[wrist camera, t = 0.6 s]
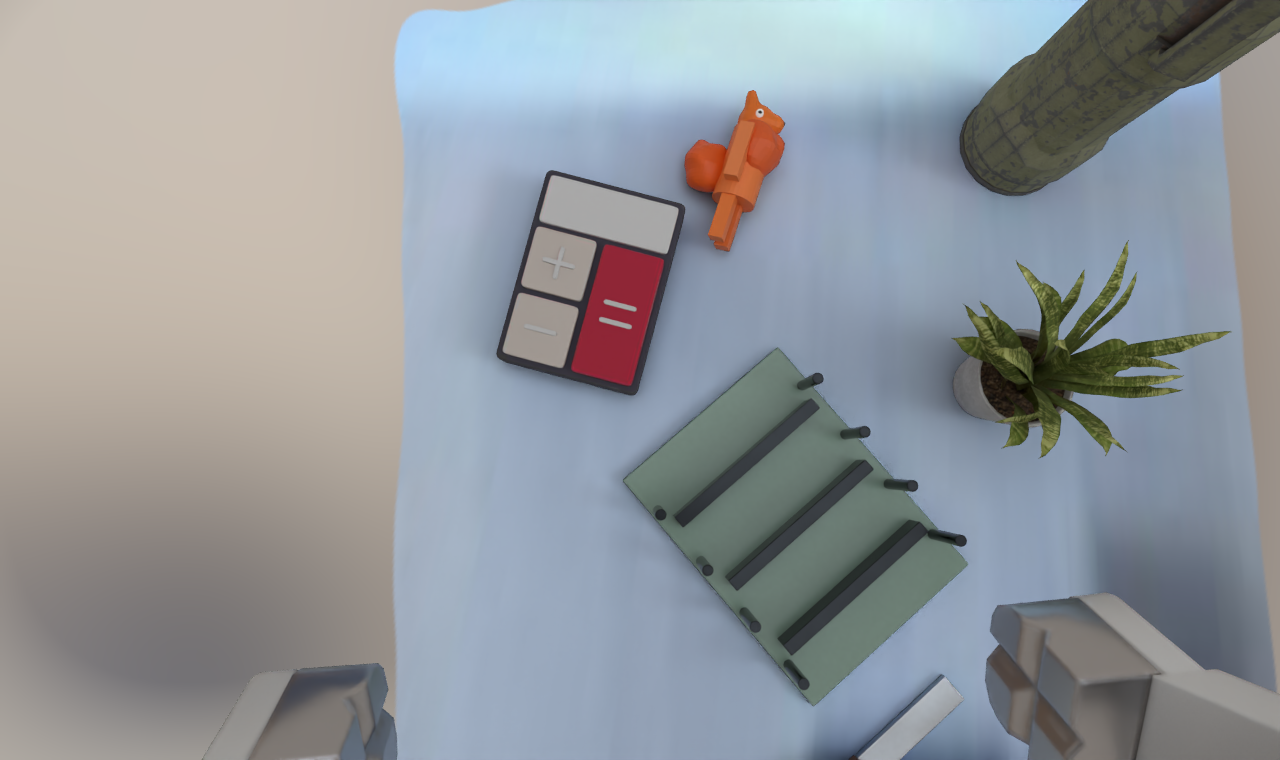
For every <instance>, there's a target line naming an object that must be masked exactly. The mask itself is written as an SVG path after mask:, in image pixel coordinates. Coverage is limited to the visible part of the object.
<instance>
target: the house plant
mask: <svg viewBox="0 0 1280 760" xmlns="http://www.w3.org/2000/svg"><path fill="white" fill-rule="evenodd" d="M1128 241H1129V240H1128ZM1128 241H1127V243H1126V245H1125V247H1124V249H1123V252H1122V254H1121V256H1120V258H1119V261H1118V263H1117V265H1116V268H1115V270H1114V272H1113V273H1112V275H1111V277H1110V279H1109V281H1108V282H1107V284H1106V286H1105V288H1104V289H1103V290H1102V292H1101V293H1100V295H1099V296H1098V298H1097V299H1096V300H1095V301H1094V302H1093V303H1092V304H1091V306H1090V307H1089V308H1088V309H1087V310H1086V311H1085V312H1084V313H1083V314H1082V316H1081V317H1080V318H1079V320H1078V321H1077V323H1076V325H1075V326H1074V328H1073V329H1072V330H1071V332H1070V333H1069V334H1068V335H1067V337H1066V338H1065V339H1064V340H1058V332H1059V325H1060V324H1061V322H1062V321H1063V319H1064V318H1065V316H1066V315H1067V314H1068V313H1069V311H1070V310H1071V309H1072V307H1073V306H1074V305H1075V303H1076V302H1077V300H1078V297H1079V294H1080V291H1081V287H1082V284H1083V281H1084V271H1083V272H1082V273H1081V275H1080V277H1079V279H1078V280H1077V282H1076V284H1075V285H1074V287H1073V288H1072V290H1071V291H1070V293H1069V294H1068V295H1067V297H1066V298H1065V300H1064V301H1063V302H1062V304H1061V297H1060V295H1059V294H1058V292H1057V291H1056V290H1055V289H1054V288H1053V287H1051V286H1049V285H1048V284H1046V283H1043V284H1042V283H1041V282H1040V281H1039V280H1038V279H1037V278H1036V277H1035V276H1034V275H1033V274H1032V273H1031V272H1030V271H1029V270H1028V269H1027V268H1026V267H1024V266H1022V265H1021V264H1019V263H1018V262H1017V260H1016V262H1017V265H1018V267H1019V268H1020V270H1021V272H1022V273H1023V275H1024V277H1025V279H1026V281H1027V282H1028V284H1029V285H1030V287H1031V289H1032V290H1033V292H1034V294H1035V295H1036V297H1037V300H1038V302H1039V305H1040V309H1041V314H1042V319H1041V327H1040V332H1038V331H1035V330H1028V329H1017V330H1013V329H1012V328H1011V327H1010V326H1009V325H1008V324H1007V323H1005V322H1004V321H1002V320H1000V319H999V318H998V317H997V316H996V315H995V314H994V313H993V312H992V310H991V309H990V308H989V307H988V306H987V305H985V304H983V303H981V302H980V303H981V305H982V307H983V308H984V310H985V312H986V314H987V316H988V317H978V316H977V315H976V314H975V313H974V312H973V311H972V310H971V309H970V308H969V307H967V306H966V305H965V307H966V309H967V313H968V316H969V318H970V319H971V321H972V322H973V324H974V326H975V327H976V329H977V331H978V334H979V337H962V338H952V339H954V340H956V342H957V343H958V344H959V346H960V347H961V349H962V350H963V351H964V352H966V353H967V354H968V355H970V357H969V358H968V359H966V360H965V361H964V362H963V363H962V364H961V365H960V366H959V368H958V369H957V371H956V372H955V376H954V379H953V391H954V395H955V398H956V400H957V402H958V404H959V405H960V406H961V407H962V408H963V410H964V411H966V412H967V413H969V414H970V415H972V416H974V417H977V418H980V419H985V420H989V421H994V422H995V423H1004V424H1009V425H1011V428H1010V436H1009V439H1008V441H1007V444H1006V445H1005V446H1004V447H1003V448H1005V447H1008V446H1015V445H1020V444H1021V443H1023V442H1024V441H1025V440H1026V438H1027V436H1028V432H1029V427H1037V426H1042V428H1043V437H1042V442H1041V451H1042V453H1041V457H1043V456H1045V455H1046V454H1047V453H1048V452H1049V451H1050V450H1051V449H1052V448H1053V447H1054V446H1055V444H1056V442H1057V440H1058V438H1059V435H1060V425H1061V417H1060V415H1061V414H1062V413H1063V412H1064V411H1065V410H1066V411H1067V412H1068V413H1070V414H1071V415H1073V416H1074V417H1075V418H1076V419H1077V420H1078V421H1079V422H1080V423H1081V424H1082V426H1083V427H1084V428H1085V429H1086V430H1087V431H1088V432H1089V434H1090V435H1091V436H1092V437H1093V438H1094V439H1095V440H1096V441H1097V442H1098V443H1099V444H1100V445H1101V446H1102V447H1103V448H1104V450H1105V452H1106V455H1107V453H1108V451H1109V449H1110V446H1111V444H1112V443H1114V444H1115V445H1117V446H1118V447H1120V448H1121V449H1123V450H1124V448H1123V447H1122V446H1121V445H1120V443H1119V442H1117V441H1116V440H1115V439H1114V438H1113V437H1112V435H1111V432H1110V430H1109V429H1108V427H1107V426H1106V425H1105V424H1104V423H1103V422H1102V421H1101V420H1100V419H1099V418H1098V417H1096V416H1095V415H1094V414H1092V413H1091V412H1089V411H1088V410H1087V409H1085V408H1083V407H1082V406H1080V405H1078V404H1077V403H1075V402H1073V401H1071V400H1072V396H1073V393H1074V392H1077V393H1082V394H1092V395H1106V396H1113V397H1120V398H1141V397H1152V396H1159V395H1165V394H1169V393H1174V392H1178V391H1181V390H1177V389H1172V388H1154V387H1151V386H1148V385H1154V384H1160V383H1165V382H1168V381H1171V380H1174V379H1177V378H1180V377H1182V376H1178V375H1170V376H1163V377H1160V376H1149V375H1148V376H1136V377H1116V376H1114V375H1115V374H1116V373H1117V372H1118V371H1122V370H1127V369H1129V368H1130V367H1161V368H1166V369H1178V368H1177V367H1175V366H1173V365H1170V364H1168V363H1166V362H1163V361H1160V360H1156V359H1153V358H1149V357H1156V356H1162V355H1167V354H1173V353H1179V352H1182V351H1185V350H1187V349H1190V348H1193V347H1195V346H1197V345H1200V344H1202V343H1205V342H1209V341H1213V340H1216V339H1219V338H1221V337H1223V336H1224V335H1226V334H1228V333H1229V332H1230V331H1224V332H1209V333H1202V334H1194V335H1187V336H1181V337H1175V338H1169V339H1163V340H1155V341H1147V342H1142V343H1136V344H1131V345H1127V343H1126V342H1124V341H1122V340H1120V339H1111V340H1107V341H1105V342H1103V343H1101V344H1099V345H1097V346H1095V347H1093V348H1091V349H1088V350H1085V351H1082V352H1079V353H1076V354H1073V355H1071V354H1072V353H1073V352H1075V351H1076V350H1077V349H1079V348H1080V347H1081V346H1082V345H1083V344H1084V343H1085V342H1087V341H1088V340H1089V339H1090V338H1091V337H1092V336H1093V335H1094V334H1095V333H1096V332H1097V331H1098V330H1099V329H1101V328H1102V327H1103V326H1104V325H1105V324H1106V323H1108V322H1109V321H1110V320H1111V319H1112V318H1113V317H1114V316H1115V315H1116V314H1118V313H1119V311H1120V310H1121V309H1122V308H1123V307H1124V306H1125V305H1126V304H1127V302H1128V300H1129V298H1130V296H1131V293H1132V290H1133V288H1134V285H1135V282H1136V274H1137V273H1136V274H1135V276H1134V278H1133V279H1132V281H1131V283H1130V285H1129V286H1128V288H1127V290H1126V291H1125V293H1124V294H1123V295H1122V297H1121V298H1120V299H1119V301H1118V302H1117V303H1116V304H1115V305H1114V307H1113V308H1112V309H1111V310H1110V311H1109V312H1108V313H1107V314H1106V315H1104V316H1103V317H1102V318H1101V319H1100V320H1099V321H1097V322H1096V323H1095V324H1094V325H1093V326H1092V327H1091V328H1090V329H1089V330H1088V331H1087V332H1086V333H1085V334H1084V335H1083V336H1082V337H1081V335H1082V334H1083V332H1084V331H1085V330H1086V329H1087V328H1088V327H1089V326H1090V324H1091V323H1092V322H1093V321H1094V320H1095V319H1096V318H1097V317H1098V316H1099V314H1100V313H1101V312H1102V311H1103V310H1104V309H1105V308H1106V306H1107V305H1108V304H1109V303H1110V302H1111V300H1112V299H1113V297H1114V296H1115V294H1116V293H1117V291H1118V290H1119V288H1120V284H1121V281H1122V278H1123V273H1124V268H1125V265H1126V261H1127V257H1128ZM1137 272H1138V271H1137ZM963 305H964V304H963ZM1080 337H1081V338H1080ZM1079 338H1080V339H1079ZM1179 370H1180V369H1179ZM1183 376H1184V375H1183ZM1001 449H1002V448H1001ZM1125 451H1126V450H1125ZM1106 455H1105V456H1106ZM1041 457H1040V458H1041ZM1038 459H1039V458H1038Z"/></svg>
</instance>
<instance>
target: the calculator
mask: <svg viewBox="0 0 1280 760" xmlns="http://www.w3.org/2000/svg"><path fill="white" fill-rule="evenodd" d="M684 214H685V207H684V206H683V205H682V204H680V203H676V202H672V201H668V200H664V199H661V198H657V197H653V196H649V195H645V194H642V193H638V192H634V191H630V190H626V189H622V188H619V187H615V186H611V185H607V184H603V183H600V182H596V181H592V180H588V179H584V178H580V177H577V176H573V175H569V174H565V173H561V172H557V171H553V170H551V171H548V172H547V174H546V177H545V180H544V184H543V187H542V191H541V195H540V198H539V202H538V205H537V209H536V212H535V216H534V220H533V223H532V227H531V230H530V234H529V238H528V241H527V245H526V248H525V252H524V256H523V259H522V263H521V266H520V270H519V274H518V277H517V281H516V284H515V288H514V291H513V295H512V299H511V302H510V306H509V309H508V313H507V317H506V320H505V324H504V327H503V331H502V335H501V338H500V342H499V345H498V349H497V357H498V358H499V359H501V360H503V361H505V362H507V363H511V364H514V365H518V366H522V367H526V368H529V369H533V370H537V371H541V372H544V373H548V374H552V375H556V376H559V377H563V378H567V379H571V380H575V381H578V382H582V383H586V384H590V385H593V386H597V387H601V388H605V389H608V390H612V391H616V392H620V393H624V394H627V395H635V394H636V393H637V391H638V388H639V384H640V381H641V377H642V373H643V369H644V366H645V362H646V358H647V354H648V350H649V347H650V343H651V339H652V335H653V332H654V328H655V324H656V320H657V317H658V313H659V309H660V305H661V302H662V298H663V294H664V290H665V287H666V283H667V279H668V275H669V272H670V268H671V264H672V261H673V257H674V253H675V249H676V246H677V242H678V238H679V234H680V230H681V227H682V223H683V218H684Z"/></svg>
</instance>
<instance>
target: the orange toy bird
mask: <svg viewBox="0 0 1280 760" xmlns="http://www.w3.org/2000/svg"><path fill="white" fill-rule="evenodd" d="M784 126H785V122H784V121H783V120H782V119H781V117H780V116H778V115H776V114H774V113H773V112H772V111H771V110H770V109H769V108H768V107H766V106H764V105H762V104H761V103H760V102H759V100H758V97H757V94H756V91H754V90H752V91H749V92H748V94H747V97H746V103H745V108H744V109H743V111H742V113H741V114H740V116H739V119H738V124H737V125H736V126H735V128H734V131H733V134H732V137H731V140H730V143H729V146H728V149H727V150H726V148H725V147H724V146H723V145H720V144H713V143H709V142H707V141H705V140H698V141H697V142H696V144H695V145H694V146H693V147H692V148H691V149H690V150H689V151H688V153H687V154H686V156H685V165H684V166H685V169H686V181H687V184H688V185H689V186H690V187H691V188H693V189H695V190H698V191H701V192H713V194H712V199H713V200H714V201H715V202H716V203H717V204H718V206H717V209H716V212H715V215H714V218H713V221H712V224H711V227H710V230H709V233H708V236H709V238H710V240H714V241H715V242H714V246H715V248H716V249H719V250H724V251H730V248H731V245H732V242H733V239H734V236H735V233H736V229H737V226H738V223H739V220H740V217H741V214H742V212H750V211H752V210H753V209H754V206H755V203H756V200H757V197H758V194H759V190H760V187H761V184H762V181H763V178H764V177H765V176H766V175H767V174H768V173H770V172H771V171H772V170H773V169H774V168H775V167H777V165H778V164H779V162H780V159H781V157H782V154H783V151H784V145H785V143H784V141H783V140H782V138H781V137H780V136H779V135H778V134H779V133H780V132H781V130H782V129H783V127H784Z"/></svg>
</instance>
